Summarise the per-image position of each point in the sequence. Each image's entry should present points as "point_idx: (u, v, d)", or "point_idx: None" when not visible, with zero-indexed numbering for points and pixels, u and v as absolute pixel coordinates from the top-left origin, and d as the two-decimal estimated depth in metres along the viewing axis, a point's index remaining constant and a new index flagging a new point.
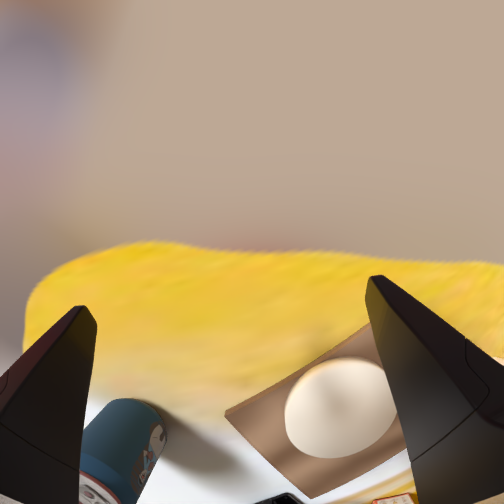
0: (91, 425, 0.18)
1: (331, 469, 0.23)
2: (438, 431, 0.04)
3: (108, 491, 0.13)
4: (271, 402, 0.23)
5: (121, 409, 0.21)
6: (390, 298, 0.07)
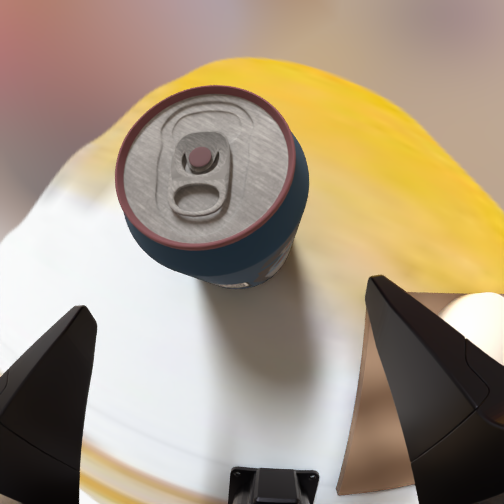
0: None
1: (401, 454, 0.16)
2: (438, 431, 0.04)
3: (295, 159, 0.08)
4: (426, 305, 0.18)
5: None
6: (390, 298, 0.07)
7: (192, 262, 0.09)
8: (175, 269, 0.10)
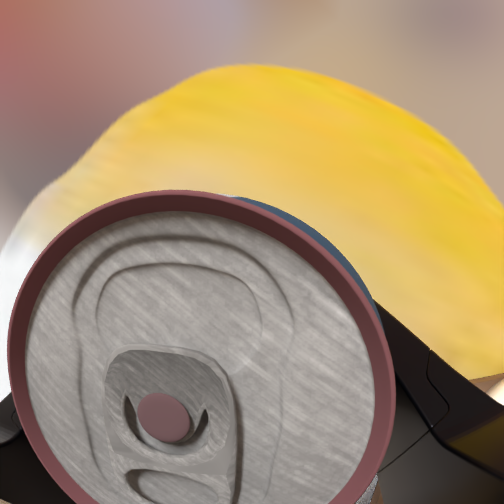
0: None
1: None
2: (398, 445, 0.04)
3: (389, 432, 0.03)
4: None
5: None
6: None
7: None
8: None
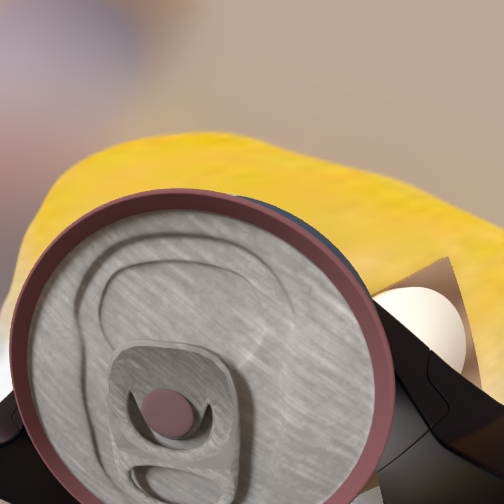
0: None
1: None
2: (398, 445, 0.04)
3: (390, 425, 0.03)
4: None
5: None
6: None
7: None
8: None
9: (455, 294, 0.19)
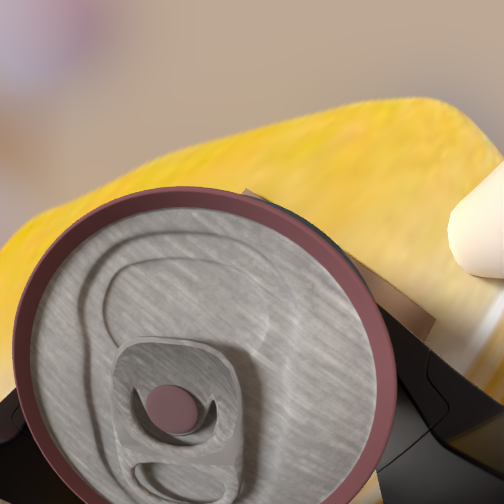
0: None
1: None
2: (398, 445, 0.04)
3: (391, 419, 0.03)
4: None
5: None
6: None
7: None
8: None
9: None
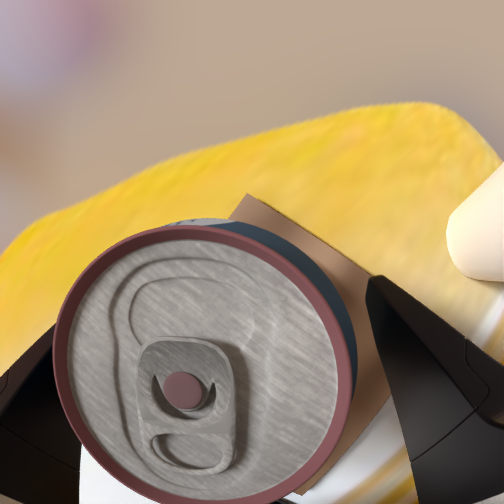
0: None
1: None
2: (438, 431, 0.04)
3: (350, 402, 0.04)
4: None
5: None
6: (390, 298, 0.07)
7: None
8: None
9: (280, 223, 0.19)
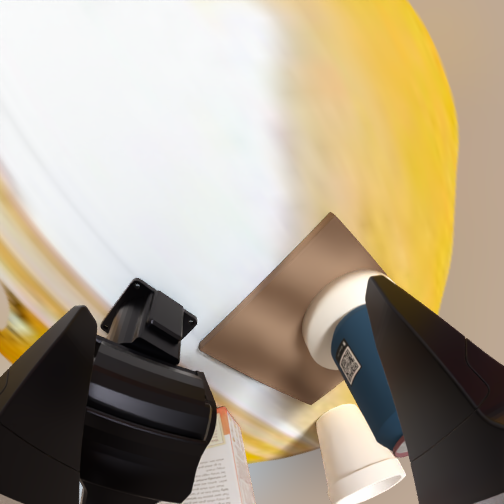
0: None
1: (263, 347, 0.26)
2: (438, 431, 0.04)
3: None
4: (358, 257, 0.23)
5: None
6: (390, 298, 0.07)
7: (392, 430, 0.13)
8: (392, 417, 0.14)
9: None
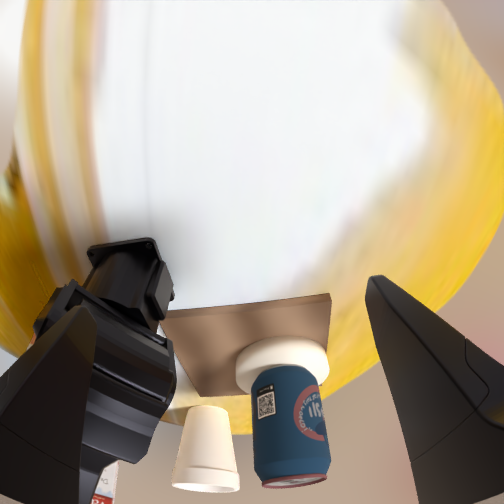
0: None
1: (205, 345, 0.28)
2: (438, 431, 0.04)
3: (267, 487, 0.20)
4: (320, 332, 0.28)
5: None
6: (390, 298, 0.07)
7: (274, 470, 0.19)
8: (280, 462, 0.19)
9: None
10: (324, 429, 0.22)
